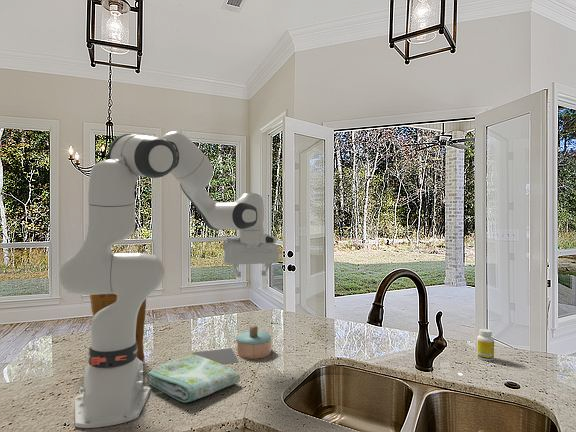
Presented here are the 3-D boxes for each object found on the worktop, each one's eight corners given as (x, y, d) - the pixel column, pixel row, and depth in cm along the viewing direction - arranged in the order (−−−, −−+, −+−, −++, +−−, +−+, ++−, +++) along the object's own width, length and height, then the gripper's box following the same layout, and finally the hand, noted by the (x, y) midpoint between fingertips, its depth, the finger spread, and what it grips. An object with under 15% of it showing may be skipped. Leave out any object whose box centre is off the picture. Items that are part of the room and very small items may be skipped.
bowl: (274, 357, 135) (274, 342, 135) (240, 360, 131) (240, 346, 131) (265, 345, 146) (265, 332, 146) (234, 349, 142) (234, 335, 142)
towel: (195, 365, 126) (195, 349, 126) (241, 384, 113) (241, 367, 112) (144, 384, 112) (144, 366, 112) (189, 409, 99) (189, 389, 98)
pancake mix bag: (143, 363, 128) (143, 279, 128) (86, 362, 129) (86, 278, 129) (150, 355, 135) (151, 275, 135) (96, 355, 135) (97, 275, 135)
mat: (239, 363, 129) (239, 362, 129) (195, 368, 124) (195, 367, 124) (231, 349, 142) (231, 348, 142) (192, 353, 138) (192, 352, 138)
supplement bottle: (496, 361, 132) (496, 333, 132) (479, 360, 133) (479, 332, 133) (491, 356, 138) (491, 328, 137) (474, 354, 139) (475, 327, 139)
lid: (275, 342, 135) (275, 329, 135) (240, 346, 131) (240, 333, 131) (265, 332, 147) (265, 320, 147) (232, 335, 143) (233, 323, 143)
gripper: (224, 239, 134) (223, 278, 134) (280, 238, 140) (280, 276, 140) (221, 237, 140) (221, 276, 140) (275, 237, 146) (275, 274, 146)
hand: (251, 276), depth 140 cm, fingers open, 8 cm apart
